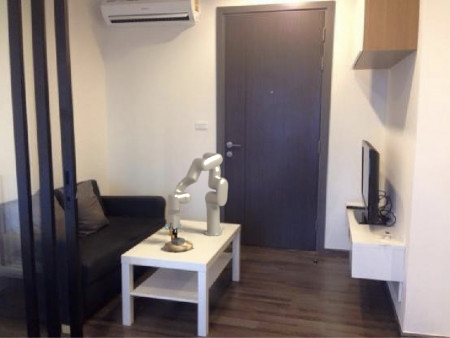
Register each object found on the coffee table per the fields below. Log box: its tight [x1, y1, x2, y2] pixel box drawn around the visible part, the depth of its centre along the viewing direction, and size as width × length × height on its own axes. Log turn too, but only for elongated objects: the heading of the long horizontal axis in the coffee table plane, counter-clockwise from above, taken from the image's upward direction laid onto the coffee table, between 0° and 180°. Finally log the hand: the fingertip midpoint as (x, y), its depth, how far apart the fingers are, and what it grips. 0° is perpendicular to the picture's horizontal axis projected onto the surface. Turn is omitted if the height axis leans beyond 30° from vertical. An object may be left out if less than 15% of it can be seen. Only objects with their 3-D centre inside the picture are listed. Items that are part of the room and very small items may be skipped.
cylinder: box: [164, 223, 182, 237], centre depth 314 cm, size 12×10×15 cm
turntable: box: [164, 235, 194, 253], centre depth 282 cm, size 18×18×6 cm
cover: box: [172, 236, 186, 246], centre depth 282 cm, size 6×6×4 cm
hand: (174, 238), depth 293 cm, fingers closed
